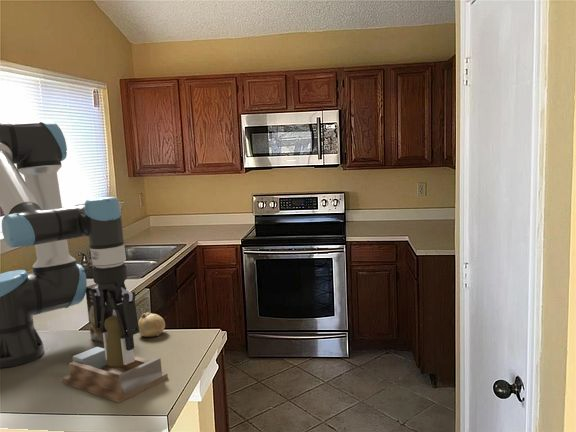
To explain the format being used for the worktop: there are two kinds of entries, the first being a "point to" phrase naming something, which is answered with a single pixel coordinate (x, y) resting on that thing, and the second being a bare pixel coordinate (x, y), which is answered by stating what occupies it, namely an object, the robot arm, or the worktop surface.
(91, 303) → the coffee box
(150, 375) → the rail board
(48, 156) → the robot arm
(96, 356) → the block
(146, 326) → the onion
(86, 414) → the worktop surface
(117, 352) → the cork
